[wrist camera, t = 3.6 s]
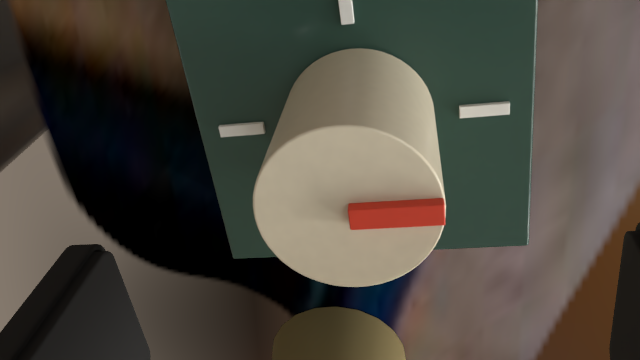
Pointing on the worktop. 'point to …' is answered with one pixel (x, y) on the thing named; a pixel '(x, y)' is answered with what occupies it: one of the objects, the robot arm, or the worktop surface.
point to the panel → (389, 37)
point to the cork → (336, 337)
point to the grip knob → (353, 172)
